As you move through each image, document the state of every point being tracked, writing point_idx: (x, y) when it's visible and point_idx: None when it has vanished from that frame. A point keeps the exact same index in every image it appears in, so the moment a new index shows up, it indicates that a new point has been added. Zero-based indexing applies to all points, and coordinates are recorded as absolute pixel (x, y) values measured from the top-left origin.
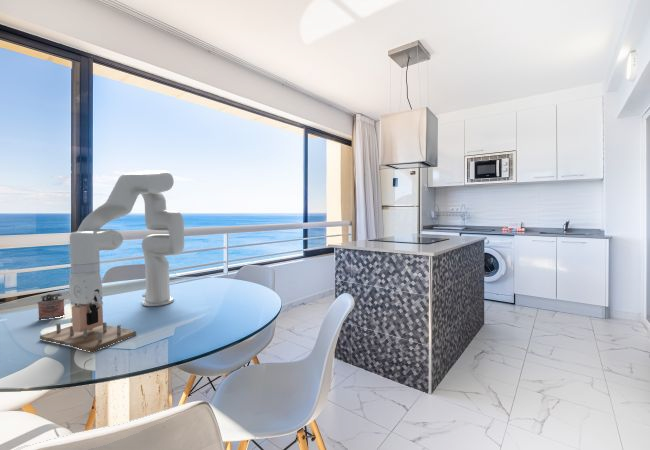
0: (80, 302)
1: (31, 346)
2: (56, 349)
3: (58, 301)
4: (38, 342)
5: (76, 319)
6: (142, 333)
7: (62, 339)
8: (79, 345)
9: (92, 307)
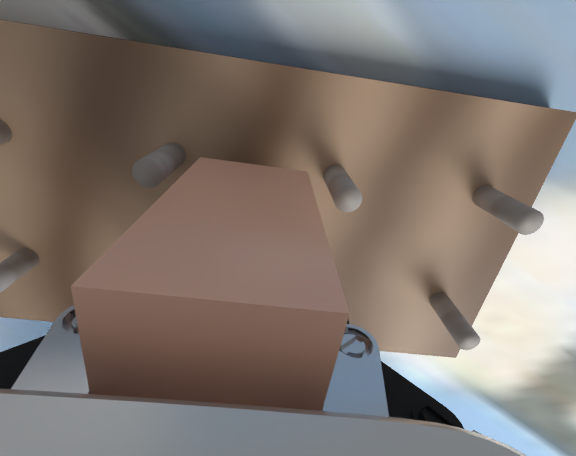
0: (58, 429)
1: (525, 2)
2: (275, 3)
3: None
4: (532, 77)
5: (234, 201)
6: (9, 321)
7: (327, 95)
8: (67, 30)
9: (4, 382)
